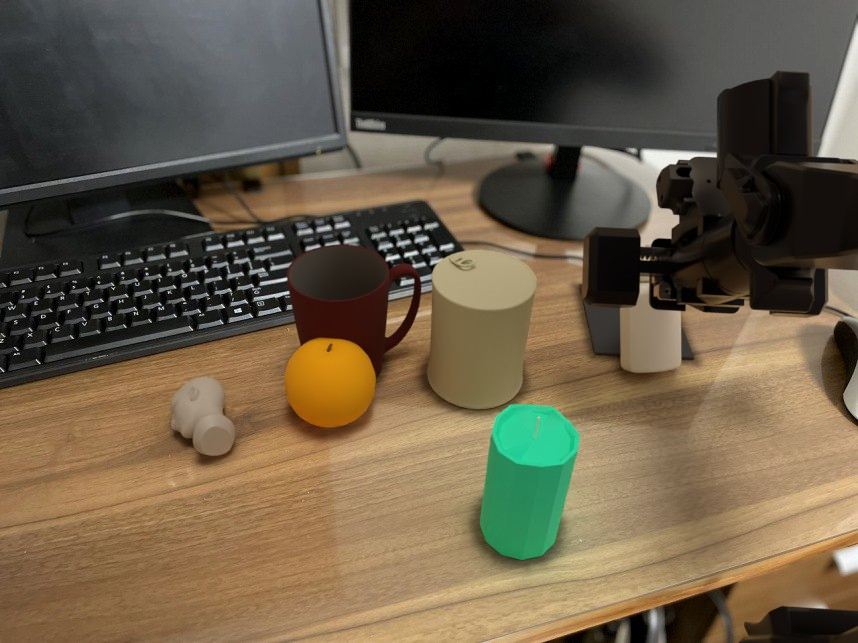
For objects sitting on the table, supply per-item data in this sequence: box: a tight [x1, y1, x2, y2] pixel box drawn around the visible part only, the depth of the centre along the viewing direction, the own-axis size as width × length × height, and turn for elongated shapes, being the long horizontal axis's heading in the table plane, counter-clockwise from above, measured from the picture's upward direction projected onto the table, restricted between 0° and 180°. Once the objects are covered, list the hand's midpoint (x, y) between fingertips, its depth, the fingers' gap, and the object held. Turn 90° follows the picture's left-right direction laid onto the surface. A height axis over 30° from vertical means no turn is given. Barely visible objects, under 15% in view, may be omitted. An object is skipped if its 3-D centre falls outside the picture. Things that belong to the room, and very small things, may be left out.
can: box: [426, 249, 538, 410], centre depth 61 cm, size 9×9×12 cm
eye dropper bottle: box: [620, 244, 682, 374], centre depth 64 cm, size 4×6×12 cm
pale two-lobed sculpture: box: [169, 376, 236, 457], centre depth 57 cm, size 4×8×5 cm
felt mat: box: [579, 283, 695, 361], centre depth 72 cm, size 12×10×1 cm
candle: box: [479, 403, 581, 561], centre depth 48 cm, size 6×6×12 cm
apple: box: [283, 338, 377, 428], centre depth 58 cm, size 8×8×8 cm
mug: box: [286, 244, 422, 379], centre depth 62 cm, size 12×9×11 cm
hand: (666, 288), depth 62 cm, fingers closed
